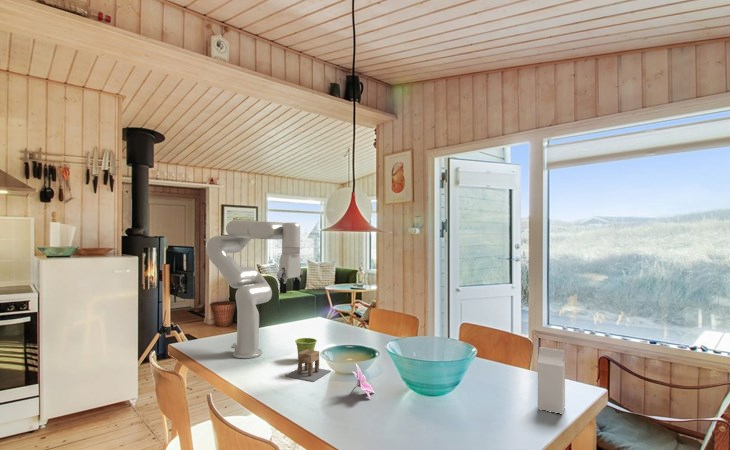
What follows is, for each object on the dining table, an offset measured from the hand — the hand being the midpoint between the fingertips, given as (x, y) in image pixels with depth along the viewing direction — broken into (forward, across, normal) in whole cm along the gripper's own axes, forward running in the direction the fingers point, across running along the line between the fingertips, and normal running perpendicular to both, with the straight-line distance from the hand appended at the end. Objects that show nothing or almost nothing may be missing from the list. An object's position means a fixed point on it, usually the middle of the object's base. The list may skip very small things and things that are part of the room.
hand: (290, 291), depth 171 cm
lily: (+31, +17, +43) cm, 55 cm away
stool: (+30, +7, +14) cm, 34 cm away
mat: (+30, +7, +14) cm, 34 cm away
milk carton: (+31, -1, +101) cm, 106 cm away
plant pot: (+31, -7, +4) cm, 32 cm away
